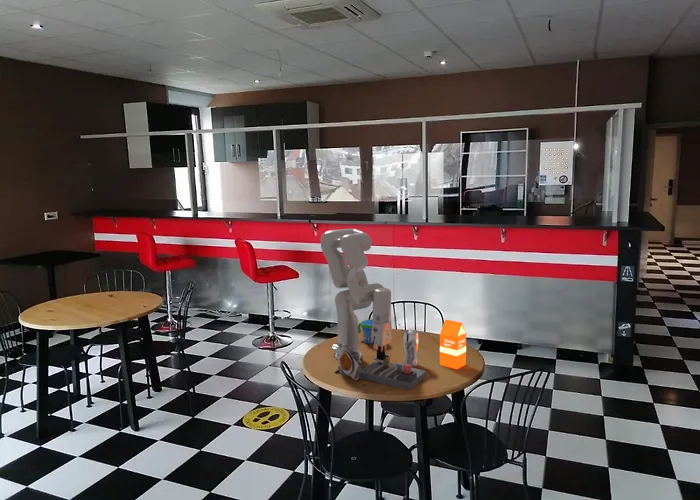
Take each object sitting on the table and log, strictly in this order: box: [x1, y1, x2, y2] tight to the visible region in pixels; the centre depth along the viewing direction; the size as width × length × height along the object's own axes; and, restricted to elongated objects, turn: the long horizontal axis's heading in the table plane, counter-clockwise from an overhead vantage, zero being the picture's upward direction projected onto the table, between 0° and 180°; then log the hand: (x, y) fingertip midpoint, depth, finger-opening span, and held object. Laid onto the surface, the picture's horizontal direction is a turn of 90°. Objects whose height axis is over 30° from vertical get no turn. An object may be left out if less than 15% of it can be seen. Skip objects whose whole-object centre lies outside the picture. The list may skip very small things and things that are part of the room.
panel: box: [359, 360, 427, 391], centre depth 218 cm, size 24×16×5 cm, turn 56°
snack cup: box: [358, 319, 373, 345], centre depth 263 cm, size 16×10×10 cm
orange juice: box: [439, 318, 467, 370], centre depth 230 cm, size 8×9×20 cm
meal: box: [334, 342, 363, 383], centre depth 219 cm, size 15×4×13 cm, turn 38°
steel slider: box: [395, 361, 405, 372], centre depth 218 cm, size 3×2×3 cm, turn 56°
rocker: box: [373, 355, 383, 363], centre depth 227 cm, size 6×2×1 cm, turn 56°
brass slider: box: [383, 352, 391, 368], centre depth 222 cm, size 3×2×6 cm, turn 56°
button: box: [403, 364, 412, 375], centre depth 210 cm, size 3×3×4 cm
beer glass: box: [402, 328, 420, 367], centre depth 232 cm, size 7×7×15 cm
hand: (380, 359), depth 220 cm, fingers closed
